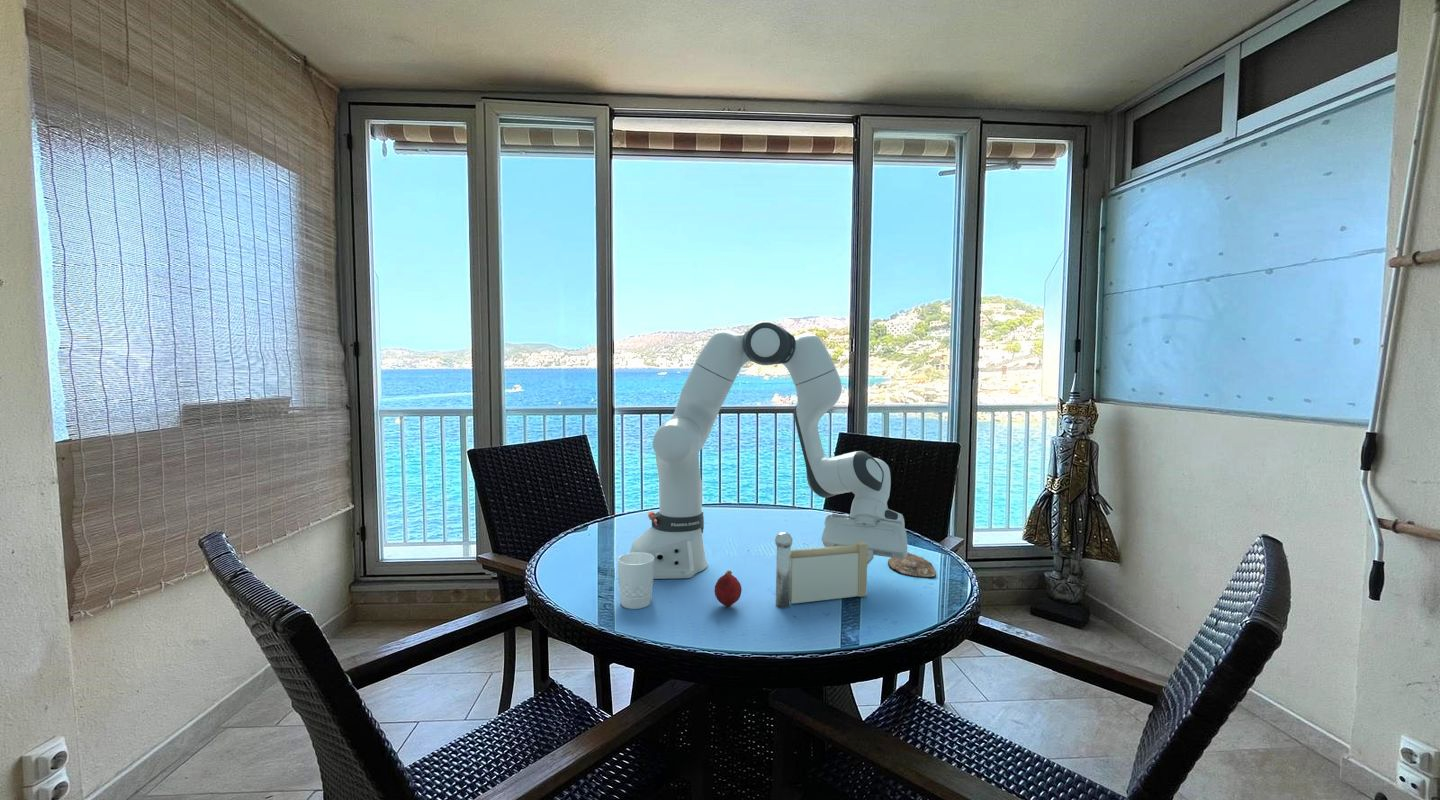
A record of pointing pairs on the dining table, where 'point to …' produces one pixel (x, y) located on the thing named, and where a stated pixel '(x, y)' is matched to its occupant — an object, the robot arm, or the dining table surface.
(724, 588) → the onion
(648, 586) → the white cup
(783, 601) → the gate post
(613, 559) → the dining table surface
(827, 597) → the gate leaf
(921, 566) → the shell
